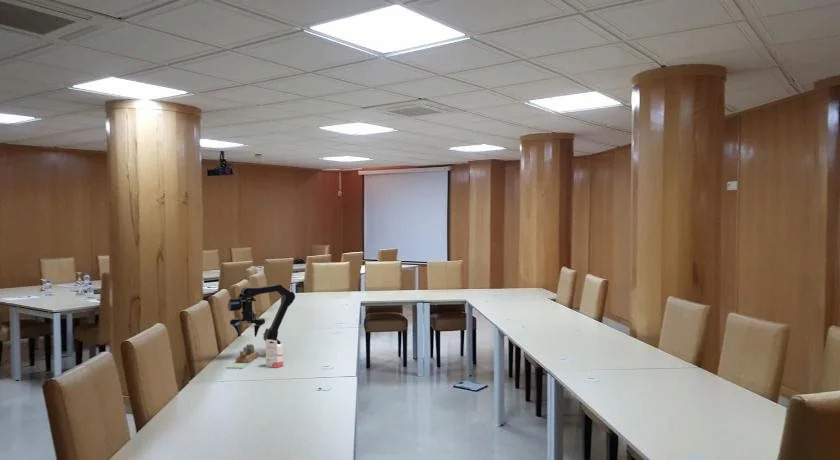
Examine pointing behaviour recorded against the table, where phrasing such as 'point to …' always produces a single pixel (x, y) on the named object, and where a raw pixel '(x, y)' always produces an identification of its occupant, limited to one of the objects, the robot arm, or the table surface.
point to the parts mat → (237, 365)
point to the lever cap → (249, 349)
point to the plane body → (246, 357)
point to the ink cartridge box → (274, 354)
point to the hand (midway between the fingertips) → (247, 336)
